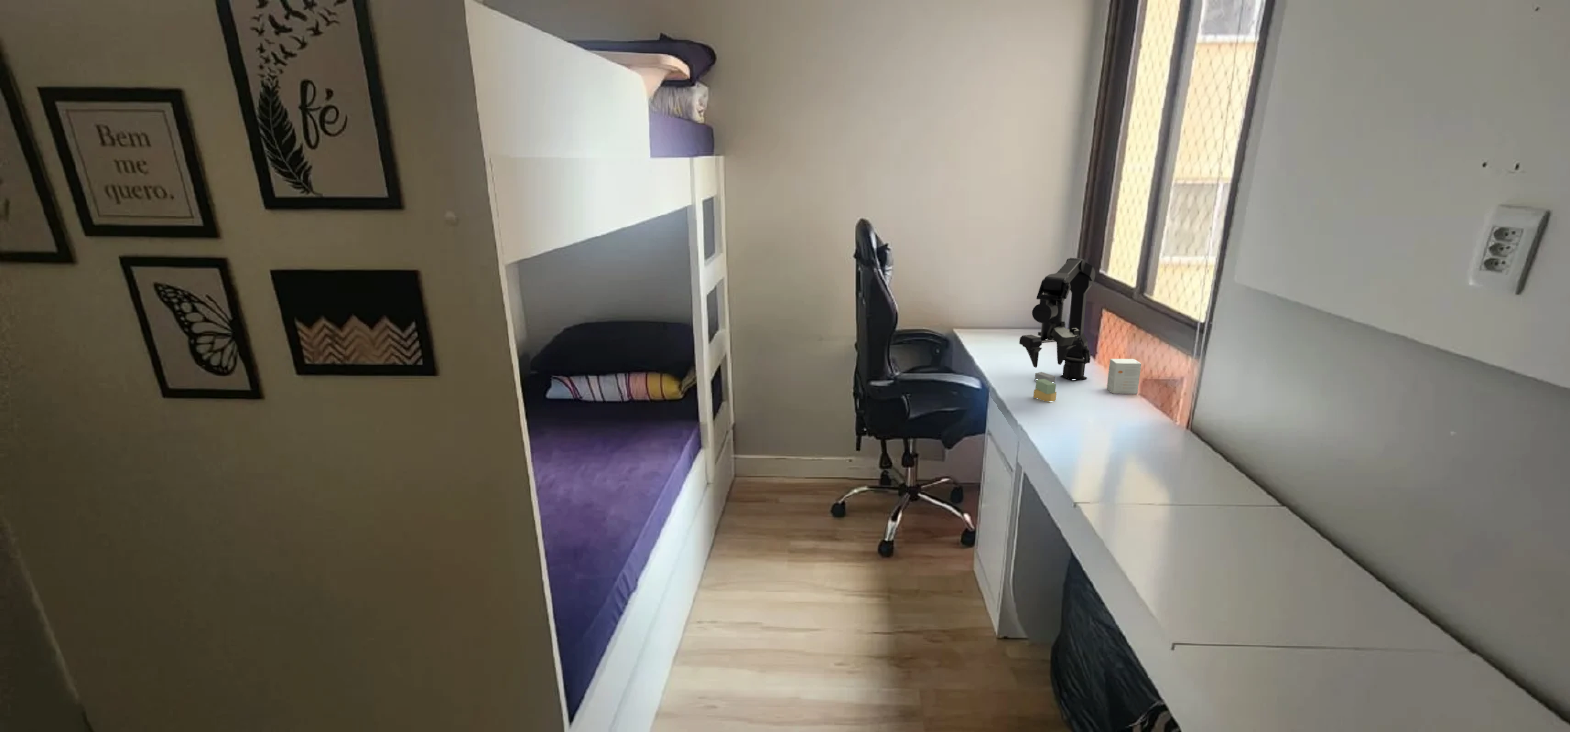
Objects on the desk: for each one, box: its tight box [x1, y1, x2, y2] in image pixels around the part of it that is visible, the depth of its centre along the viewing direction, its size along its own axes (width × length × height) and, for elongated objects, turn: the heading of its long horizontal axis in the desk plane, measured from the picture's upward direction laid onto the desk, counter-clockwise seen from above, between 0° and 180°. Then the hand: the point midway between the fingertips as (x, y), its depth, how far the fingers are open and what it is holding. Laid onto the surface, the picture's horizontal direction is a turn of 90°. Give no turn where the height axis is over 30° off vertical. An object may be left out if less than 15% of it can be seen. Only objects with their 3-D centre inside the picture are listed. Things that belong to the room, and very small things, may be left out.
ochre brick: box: [1032, 388, 1057, 402], centre depth 216 cm, size 6×3×3 cm, turn 40°
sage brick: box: [1035, 379, 1057, 394], centre depth 215 cm, size 6×3×3 cm, turn 13°
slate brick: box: [1034, 371, 1056, 383], centre depth 233 cm, size 6×3×3 cm, turn 27°
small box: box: [1106, 358, 1142, 395], centre depth 222 cm, size 8×6×10 cm
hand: (1047, 365), depth 213 cm, fingers open, 9 cm apart
